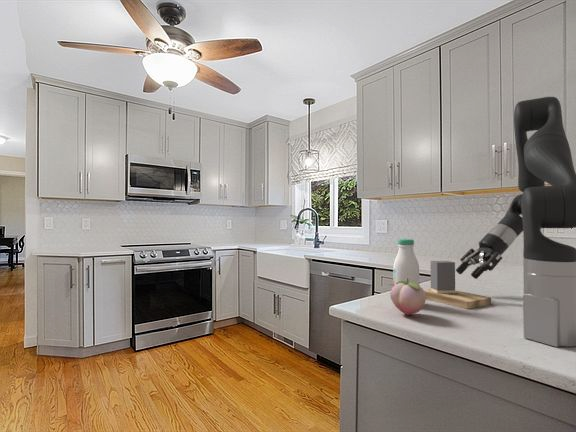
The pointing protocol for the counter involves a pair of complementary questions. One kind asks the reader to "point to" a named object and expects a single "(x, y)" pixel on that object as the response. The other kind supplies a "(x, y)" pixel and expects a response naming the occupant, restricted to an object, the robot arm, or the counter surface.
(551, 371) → the counter surface
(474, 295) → the oak board
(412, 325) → the counter surface
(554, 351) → the counter surface
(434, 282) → the block
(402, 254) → the milk bottle
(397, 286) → the decorative fruit
